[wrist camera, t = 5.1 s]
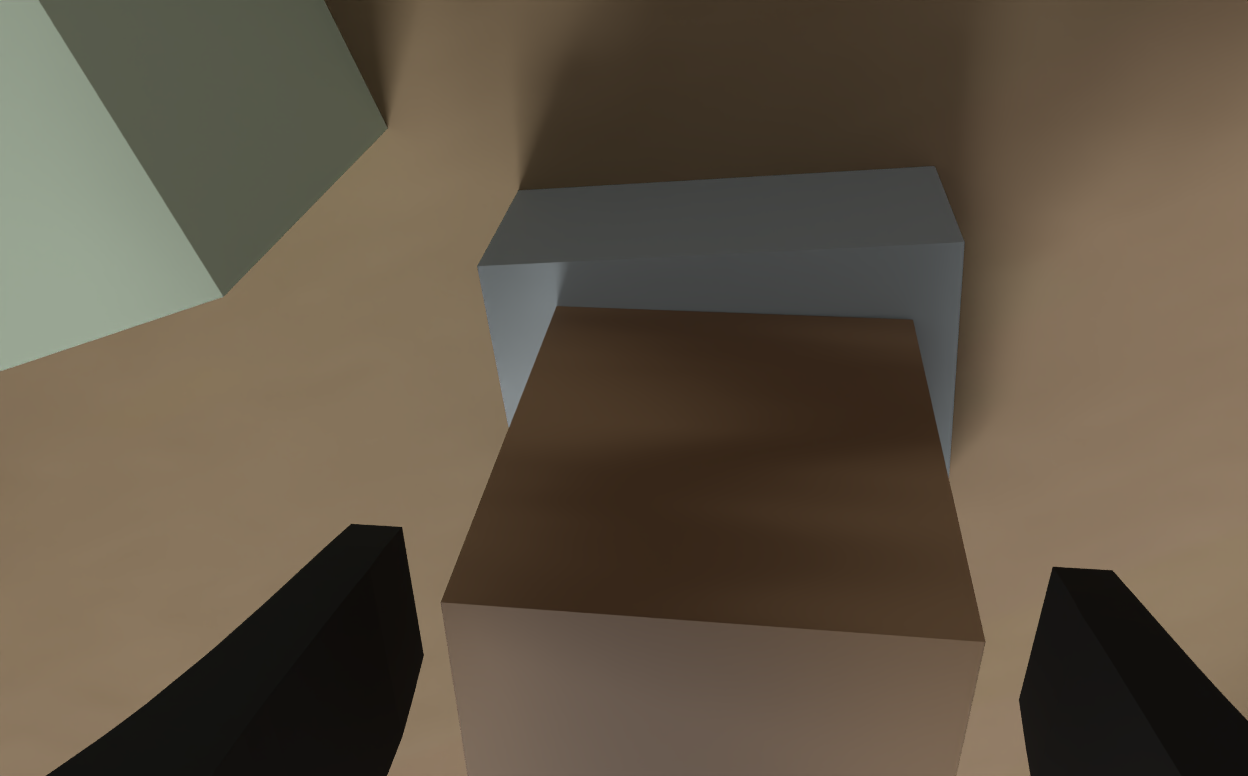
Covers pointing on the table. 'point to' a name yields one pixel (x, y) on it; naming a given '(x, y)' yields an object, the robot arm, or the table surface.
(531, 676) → the walnut block
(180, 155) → the sage block
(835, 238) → the slate slab
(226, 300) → the table surface
